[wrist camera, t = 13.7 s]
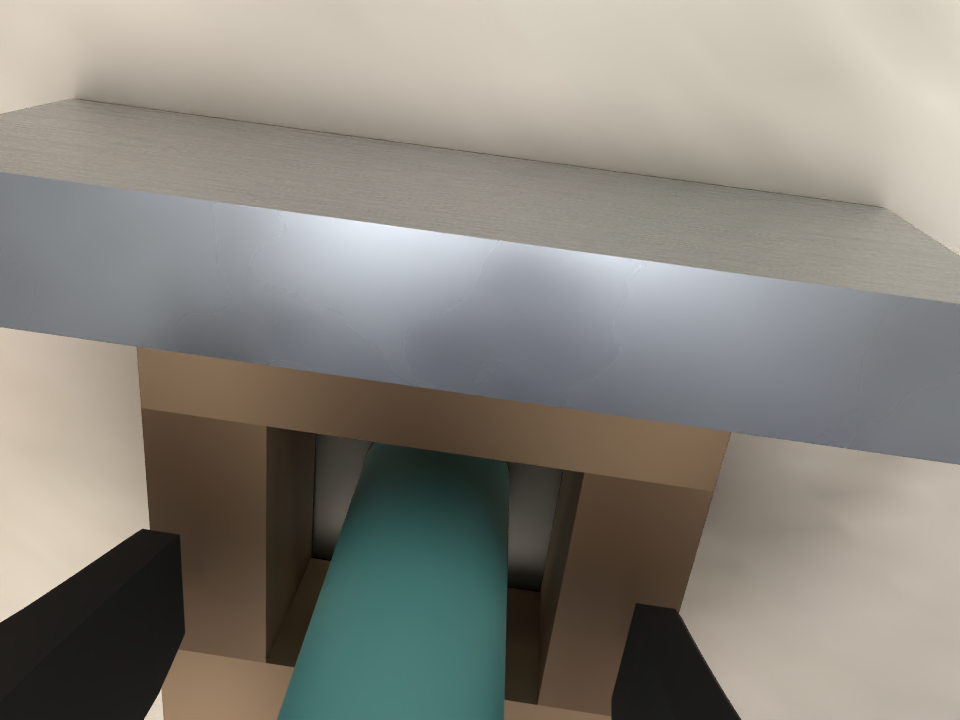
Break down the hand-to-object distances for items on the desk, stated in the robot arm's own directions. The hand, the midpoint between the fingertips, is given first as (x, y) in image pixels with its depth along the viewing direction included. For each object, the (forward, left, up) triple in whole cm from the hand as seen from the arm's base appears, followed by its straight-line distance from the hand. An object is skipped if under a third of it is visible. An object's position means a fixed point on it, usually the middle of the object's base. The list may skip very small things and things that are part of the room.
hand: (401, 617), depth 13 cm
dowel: (0, 0, -4) cm, 4 cm away
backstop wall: (0, -6, -4) cm, 7 cm away
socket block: (0, 0, -4) cm, 4 cm away
